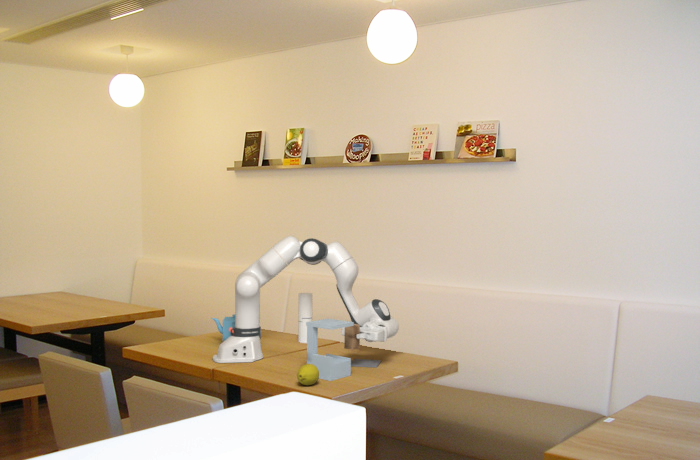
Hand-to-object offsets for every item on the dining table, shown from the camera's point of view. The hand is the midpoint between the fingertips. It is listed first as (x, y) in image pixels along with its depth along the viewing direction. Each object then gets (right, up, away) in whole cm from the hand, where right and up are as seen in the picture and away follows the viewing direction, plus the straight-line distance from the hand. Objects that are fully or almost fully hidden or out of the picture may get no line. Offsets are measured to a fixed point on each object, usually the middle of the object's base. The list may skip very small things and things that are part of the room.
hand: (350, 335), depth 262 cm
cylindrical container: (-23, -14, +61) cm, 67 cm away
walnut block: (0, -5, +1) cm, 6 cm away
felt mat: (+6, -14, +11) cm, 19 cm away
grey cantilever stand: (-8, -14, -9) cm, 19 cm away
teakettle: (-59, -14, +56) cm, 82 cm away
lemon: (-16, -15, -25) cm, 34 cm away
